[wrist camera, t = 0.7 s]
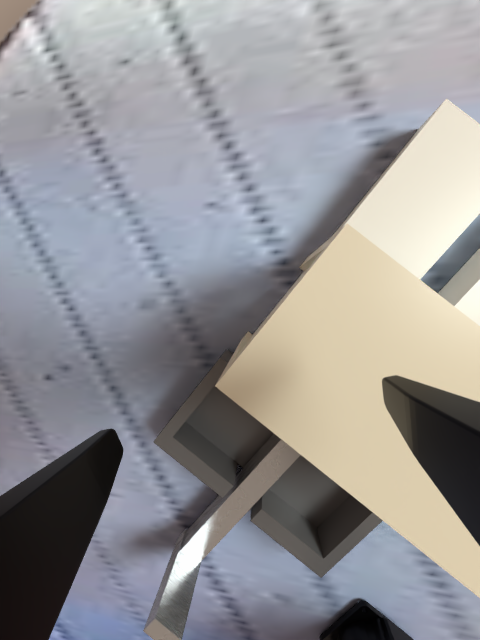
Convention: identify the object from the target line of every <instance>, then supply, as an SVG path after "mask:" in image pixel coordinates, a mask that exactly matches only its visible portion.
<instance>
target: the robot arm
mask: <svg viewBox="0 0 480 640" xmlns="http://www.w3.org/2000/svg"><path fill="white" fill-rule="evenodd" d="M382 389H383V398H384V404H385V406H386V409H387V410H388V412H389V414H390V416H391V417H392V419H393V421H394V422H395V424H396V426H397V428H398V429H399V431H400V433H401V435H402V436H403V438H404V440H405V441H406V443H407V445H408V447H409V448H410V450H411V452H412V453H413V455H414V456H415V458H416V459H417V461H418V462H419V464H420V465H421V466H422V468H423V469H424V470H425V472H426V473H427V475H428V476H429V477H430V479H431V480H432V481H433V483H434V484H435V486H436V487H437V488H438V490H439V491H440V492H441V494H442V495H443V497H444V498H445V499H446V501H447V502H448V503H449V505H450V506H451V508H452V509H453V510H454V512H455V513H456V515H457V516H458V517H459V519H460V520H461V521H462V523H463V524H464V526H465V527H466V528H467V530H468V531H469V532H470V534H471V535H472V537H473V538H474V539H475V541H476V542H477V543H478V545H479V546H480V402H478V401H475V400H472V399H469V398H466V397H463V396H460V395H456V394H453V393H450V392H447V391H444V390H441V389H438V388H435V387H432V386H429V385H426V384H423V383H419V382H416V381H413V380H410V379H407V378H404V377H401V376H398V375H393V376H388V377H384V378H383V379H382ZM122 456H123V447H122V444H121V442H120V440H119V438H118V435H117V433H116V431H115V430H114V429H106V430H101V431H99V432H98V433H96V434H95V435H93V436H92V437H90V438H88V439H87V440H85V441H84V442H82V443H81V444H79V445H78V446H76V447H75V448H73V449H72V450H70V451H69V452H67V453H66V454H64V455H62V456H61V457H59V458H58V459H56V460H55V461H53V462H52V463H50V464H49V465H47V466H46V467H44V468H43V469H41V470H40V471H38V472H36V473H35V474H33V475H32V476H30V477H29V478H27V479H26V480H24V481H23V482H21V483H20V484H18V485H17V486H15V487H13V488H12V489H10V490H9V491H7V492H6V493H4V494H3V495H1V496H0V640H49V637H50V635H51V632H52V630H53V628H54V625H55V623H56V621H57V618H58V616H59V614H60V611H61V609H62V607H63V604H64V602H65V600H66V597H67V595H68V593H69V590H70V588H71V586H72V583H73V581H74V579H75V576H76V574H77V571H78V569H79V567H80V564H81V562H82V560H83V557H84V555H85V553H86V550H87V548H88V546H89V543H90V541H91V539H92V536H93V534H94V532H95V529H96V527H97V525H98V522H99V520H100V518H101V515H102V513H103V510H104V508H105V506H106V503H107V500H108V498H109V495H110V492H111V489H112V486H113V483H114V480H115V477H116V474H117V471H118V468H119V465H120V462H121V459H122ZM320 640H413V639H412V638H411V637H410V636H408V635H407V634H406V633H405V632H403V631H402V630H401V629H400V628H399V627H397V626H396V625H395V624H394V623H392V622H391V621H390V620H389V619H387V618H386V617H385V616H384V615H382V614H381V613H380V612H379V611H377V610H376V609H375V608H374V607H372V606H371V605H370V604H369V603H368V602H366V601H360V602H358V603H357V604H356V605H355V606H354V607H353V608H352V609H350V610H349V611H348V612H347V613H346V614H345V615H344V616H342V617H341V618H340V619H339V620H338V621H337V622H336V623H334V624H333V625H332V626H331V627H330V628H329V629H328V630H326V631H325V632H324V633H323V634H322V635H321V636H320Z"/></svg>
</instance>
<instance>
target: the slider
mask: <svg viewBox="0 0 480 640" xmlns="http://www.w3.org/2000/svg"><path fill="white" fill-rule="evenodd" d="M299 456H300V454H299V453H298V452H297V451H295V450H294V449H293V448H292V447H290V446H289V445H288V444H287V443H285V442H284V441H283V440H282V439H280V438H279V437H278V436H277V435H275V434H273V435H272V436H271V437H270V438H269V440H268V441H267V442H266V443H265V444H264V445H263V446H262V447H261V449H260V450H259V451H258V452H257V453H256V454H255V455H254V456H253V457H252V459H251V460H250V461H249V462H248V463H247V464H246V465H245V466H244V467H243V469H242V470H241V471H240V472H239V473H238V474H237V475H236V476H235V481H234V486H233V487H232V488H231V489H230V491H229V492H228V493H227V494H226V495H225V496H224V497H223V498H222V497H221V496H219V495H218V496H217V498H216V499H215V500H214V501H213V502H212V503H211V504H210V505H209V507H208V508H207V509H206V510H205V511H204V512H203V513H202V514H201V515H200V517H199V518H198V519H197V520H196V521H195V522H194V523H193V524H192V525H191V527H190V528H189V529H187V528H186V529H185V530H184V531H183V532H182V534H181V535H180V536H179V537H178V539H177V541H176V544H175V547H174V549H173V552H172V555H171V557H170V560H169V563H168V566H167V568H166V571H165V574H164V576H163V579H162V582H161V584H160V587H159V590H158V593H157V595H156V598H155V601H154V603H153V606H152V609H151V611H150V614H149V617H148V620H147V622H146V625H145V628H144V630H143V631H144V632H145V633H146V634H148V635H149V636H150V637H151V638H152V639H154V640H182V636H183V632H184V628H185V624H186V620H187V616H188V612H189V608H190V604H191V600H192V596H193V592H194V588H195V584H196V580H197V576H198V572H199V568H200V564H201V561H202V560H203V559H204V558H205V556H206V555H207V554H208V553H209V552H210V551H211V550H212V549H213V548H214V547H215V546H216V545H217V544H218V543H219V542H220V540H221V539H222V538H223V537H224V536H225V535H226V534H227V533H228V532H229V531H230V530H231V529H232V528H233V527H234V526H235V524H236V523H237V522H238V521H239V520H240V519H241V518H242V517H243V516H244V515H245V514H246V513H247V512H248V511H249V510H250V508H251V507H252V506H253V505H254V504H255V503H256V502H257V501H258V500H259V499H260V498H261V497H262V496H263V495H264V494H265V492H266V491H267V490H268V489H269V488H270V487H271V486H272V485H273V484H274V483H275V482H276V481H277V480H278V479H279V478H280V476H281V475H282V474H283V473H284V472H285V471H286V470H287V469H288V468H289V467H290V466H291V465H292V464H293V463H294V462H295V460H296V459H297V458H298V457H299Z"/></svg>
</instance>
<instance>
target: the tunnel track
mask: <svg viewBox="0 0 480 640" xmlns="http://www.w3.org/2000/svg"><path fill="white" fill-rule="evenodd" d="M479 214H480V124H479V123H478V122H476V121H475V120H474V119H472V118H471V117H470V116H468V115H467V114H466V113H465V112H463V111H462V110H461V109H459V108H458V107H457V106H455V105H454V104H453V103H451V102H450V101H449V100H447V99H446V100H445V101H444V102H443V103H442V104H441V105H440V106H439V107H438V108H437V110H436V111H435V112H434V113H433V114H432V115H431V116H430V117H429V118H428V119H427V120H426V121H425V123H424V124H423V125H422V126H421V127H420V128H419V129H418V130H417V132H416V133H415V134H414V135H413V137H412V138H411V139H410V140H409V142H408V143H407V144H406V145H405V147H404V148H403V149H402V150H401V151H400V153H399V154H398V155H397V156H396V158H395V159H394V160H393V161H392V163H391V164H390V165H389V166H388V168H387V169H386V170H385V171H384V173H383V174H382V175H381V176H380V177H379V179H378V180H377V181H376V182H375V184H374V185H373V186H372V187H371V189H370V190H369V191H368V192H367V194H366V195H365V196H364V197H363V199H362V200H361V201H360V202H359V204H358V205H357V206H356V207H355V208H354V210H353V211H352V212H351V213H350V215H349V216H348V217H347V218H346V220H345V221H344V222H343V223H342V225H341V226H340V227H339V228H338V230H337V231H336V232H335V233H334V234H333V236H332V237H331V238H329V239H328V240H327V241H326V242H325V243H324V244H322V245H321V246H320V247H319V248H318V249H317V250H315V251H314V252H313V253H312V254H311V255H310V256H309V257H307V258H306V260H305V261H304V262H303V263H302V265H301V266H300V267H299V268H300V269H302V270H303V271H304V272H303V273H302V274H301V275H300V277H299V278H298V279H297V280H296V282H295V283H294V284H293V285H292V287H291V288H290V289H289V290H288V291H287V293H286V294H285V295H284V296H283V298H282V299H281V300H280V301H279V303H278V304H277V305H276V306H275V308H274V309H273V310H272V311H271V313H270V314H269V315H268V316H267V318H266V319H265V320H264V321H263V322H262V324H261V325H260V326H259V327H258V329H257V330H256V331H255V332H254V334H253V335H252V334H251V333H250V332H247V333H246V335H245V336H244V337H243V338H242V340H241V341H240V343H239V345H238V346H237V348H236V350H235V352H234V354H232V353H231V352H230V351H229V350H227V349H226V351H225V352H224V353H223V354H222V356H221V357H220V358H219V359H218V361H217V362H216V363H215V365H214V366H213V367H212V368H211V370H210V371H209V372H208V373H207V375H206V376H205V377H204V378H203V380H202V381H201V382H200V383H199V385H198V386H197V387H196V388H195V390H194V391H193V392H192V393H191V395H190V396H189V397H188V398H187V400H186V401H185V402H184V403H183V405H182V406H181V407H180V409H179V410H178V411H177V412H176V414H175V415H174V416H173V417H172V419H171V420H170V421H169V422H168V424H167V425H166V426H165V428H164V429H163V430H162V431H161V433H160V434H159V435H158V437H157V438H156V439H155V441H154V443H155V444H156V445H158V446H159V447H160V448H161V449H163V450H164V451H165V452H166V453H168V454H169V455H170V456H171V457H172V458H174V459H175V460H176V461H177V462H179V463H180V464H181V465H182V466H184V467H185V468H186V469H187V470H189V471H190V472H191V473H192V474H193V475H195V476H196V477H197V478H198V479H200V480H201V481H202V482H203V483H205V484H206V485H207V486H208V487H210V488H211V489H212V490H213V491H215V492H216V493H217V494H218V495H219V496H221V497H222V498H223V497H224V496H225V495H226V494H227V493H228V492H229V491H230V489H231V488H232V487H233V486H234V481H235V475H236V470H237V464H239V465H240V466H241V467H242V468H243V467H244V466H245V465H246V464H247V463H248V462H249V461H250V460H251V459H252V457H253V456H254V455H255V454H256V453H257V452H258V451H259V450H260V449H261V447H262V446H263V445H264V444H265V443H266V442H267V441H268V440H269V438H270V437H271V436H272V435H273V434H275V435H277V436H278V437H279V438H280V439H282V440H283V441H284V442H285V443H287V444H288V445H289V446H290V447H292V448H293V449H294V450H295V451H297V452H298V453H299V454H300V456H299V457H298V458H297V459H296V460H295V462H294V463H293V464H292V465H291V466H290V467H289V468H288V469H287V470H286V471H285V472H284V473H283V474H282V475H281V476H280V478H279V479H278V480H277V481H276V482H275V483H274V484H273V485H272V486H271V487H270V488H269V489H268V490H267V491H266V492H265V494H264V495H263V496H262V497H261V498H260V499H259V500H258V501H257V502H256V503H255V504H254V505H253V506H252V510H251V521H252V522H253V523H254V524H255V525H257V526H258V527H259V528H260V529H261V530H263V531H264V532H265V533H266V534H268V535H269V536H270V537H271V538H273V539H274V540H275V541H276V542H278V543H279V544H280V545H281V546H282V547H284V548H285V549H286V550H287V551H289V552H290V553H291V554H292V555H294V556H295V557H296V558H297V559H299V560H300V561H301V562H302V563H303V564H305V565H306V566H307V567H308V568H310V569H311V570H312V571H313V572H315V573H316V574H317V575H318V576H320V577H323V576H324V575H325V574H326V573H327V572H328V571H329V570H330V569H331V568H332V567H333V566H334V565H335V564H336V563H338V562H339V561H340V560H341V559H342V558H343V557H344V556H345V555H346V554H347V553H348V552H349V551H350V550H352V549H353V548H354V547H355V546H356V545H357V544H358V543H359V542H360V541H361V540H362V539H363V538H364V537H366V536H367V535H368V534H369V533H370V532H371V531H372V530H373V529H374V528H375V527H376V526H377V525H378V524H380V523H381V522H382V521H384V522H385V523H387V524H388V525H389V526H390V527H392V528H393V529H394V530H395V531H397V532H398V533H399V534H400V535H402V536H403V537H404V538H405V539H407V540H408V541H409V542H410V543H412V544H413V545H414V546H415V547H417V548H418V549H419V550H420V551H422V552H423V553H424V554H425V555H427V556H428V557H429V558H430V559H432V560H433V561H434V562H435V563H437V564H438V565H439V566H440V567H442V568H443V569H444V570H445V571H447V572H448V573H449V574H450V575H452V576H453V577H454V578H455V579H457V580H458V581H459V582H460V583H462V584H463V585H464V586H465V587H467V588H468V589H469V590H470V591H472V592H473V593H474V594H475V595H477V596H478V597H479V598H480V546H479V545H478V543H477V542H476V541H475V539H474V538H473V537H472V535H471V534H470V532H469V531H468V530H467V528H466V527H465V526H464V524H463V523H462V521H461V520H460V519H459V517H458V516H457V515H456V513H455V512H454V510H453V509H452V508H451V506H450V505H449V503H448V502H447V501H446V499H445V498H444V497H443V495H442V494H441V492H440V491H439V490H438V488H437V487H436V486H435V484H434V483H433V481H432V480H431V479H430V477H429V476H428V475H427V473H426V472H425V470H424V469H423V468H422V466H421V465H420V464H419V462H418V461H417V459H416V458H415V456H414V455H413V453H412V452H411V450H410V448H409V447H408V445H407V443H406V441H405V440H404V438H403V436H402V435H401V433H400V431H399V429H398V428H397V426H396V424H395V422H394V421H393V419H392V417H391V416H390V414H389V412H388V410H387V409H386V406H385V404H384V398H383V389H382V379H383V378H384V377H388V376H393V375H398V376H401V377H404V378H407V379H410V380H413V381H416V382H419V383H423V384H426V385H429V386H432V387H435V388H438V389H441V390H444V391H447V392H450V393H453V394H456V395H460V396H463V397H466V398H469V399H472V400H475V401H478V402H480V248H479V249H478V250H477V251H476V253H475V254H474V255H473V256H472V257H471V258H470V259H469V260H468V261H467V262H466V263H465V264H464V265H463V267H462V268H461V269H460V270H459V271H458V272H457V273H456V274H455V275H454V276H453V277H452V278H451V280H450V281H449V282H448V283H447V284H446V285H445V286H444V287H443V288H442V289H441V290H440V291H439V292H438V293H436V292H435V291H434V290H433V289H431V288H430V287H429V286H427V285H426V284H425V283H424V282H422V281H421V280H420V279H421V278H422V277H423V276H424V275H425V273H426V272H427V271H428V270H429V269H430V268H431V267H432V266H433V265H434V263H435V262H436V261H437V260H438V259H439V258H440V257H441V256H442V255H443V253H444V252H445V251H446V250H447V249H448V248H449V247H450V246H451V245H452V244H453V242H454V241H455V240H456V239H457V238H458V237H459V236H460V235H461V234H462V232H463V231H464V230H465V229H466V228H467V227H468V226H469V225H470V224H471V222H472V221H473V220H474V219H475V218H476V217H477V216H478V215H479Z"/></svg>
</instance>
